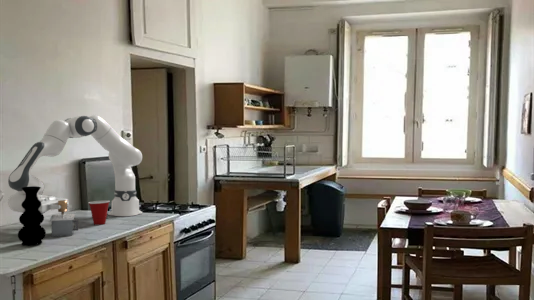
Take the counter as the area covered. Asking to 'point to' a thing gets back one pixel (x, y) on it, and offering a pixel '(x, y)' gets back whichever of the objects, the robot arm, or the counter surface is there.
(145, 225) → the counter surface
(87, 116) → the robot arm
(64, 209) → the plunger
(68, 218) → the plunger pot
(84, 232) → the counter surface
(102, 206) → the plastic cup
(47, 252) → the counter surface
